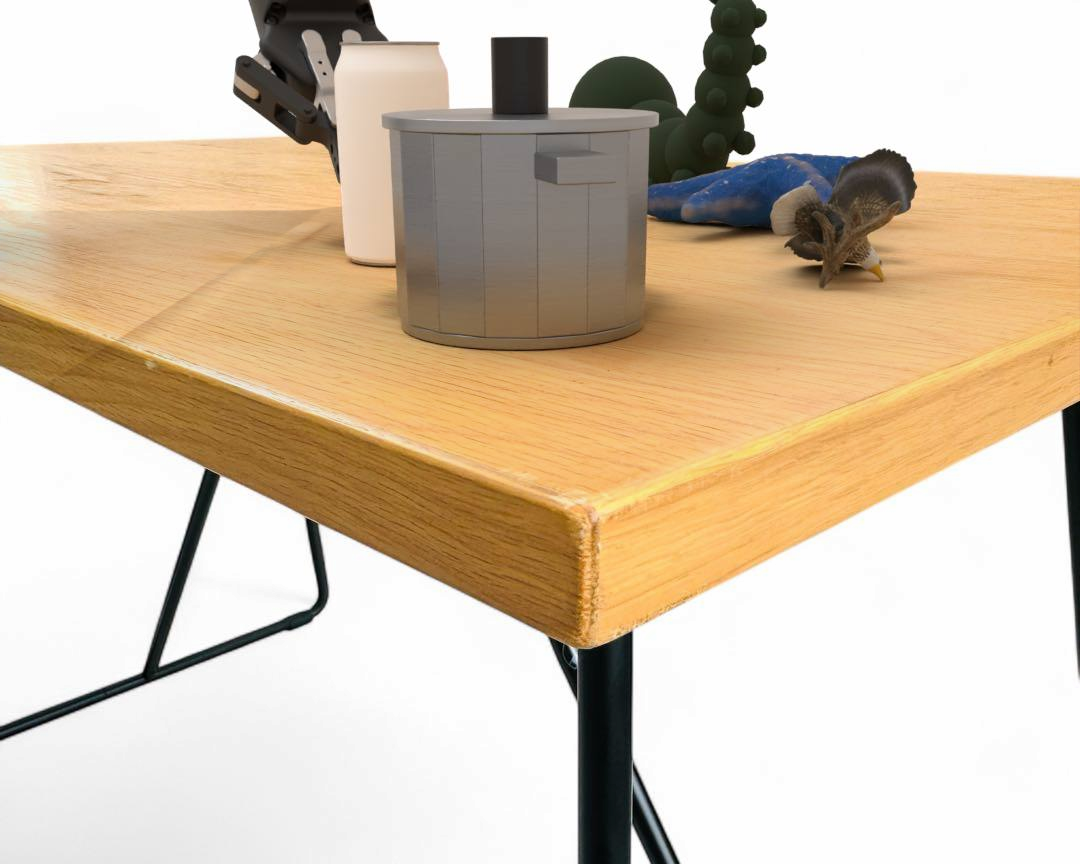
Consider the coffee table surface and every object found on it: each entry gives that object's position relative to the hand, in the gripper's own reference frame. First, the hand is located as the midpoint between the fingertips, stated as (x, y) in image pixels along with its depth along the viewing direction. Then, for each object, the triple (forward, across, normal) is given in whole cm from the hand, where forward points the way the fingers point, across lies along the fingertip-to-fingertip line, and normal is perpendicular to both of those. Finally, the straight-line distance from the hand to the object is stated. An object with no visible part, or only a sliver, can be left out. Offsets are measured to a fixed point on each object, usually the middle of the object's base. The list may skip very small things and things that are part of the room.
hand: (367, 187), depth 74 cm
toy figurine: (-10, +31, +16) cm, 36 cm away
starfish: (+4, +28, +2) cm, 28 cm away
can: (+5, +1, 0) cm, 5 cm away
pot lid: (+13, 0, -20) cm, 24 cm away
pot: (+20, 0, -14) cm, 24 cm away
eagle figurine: (+17, +20, -12) cm, 29 cm away
